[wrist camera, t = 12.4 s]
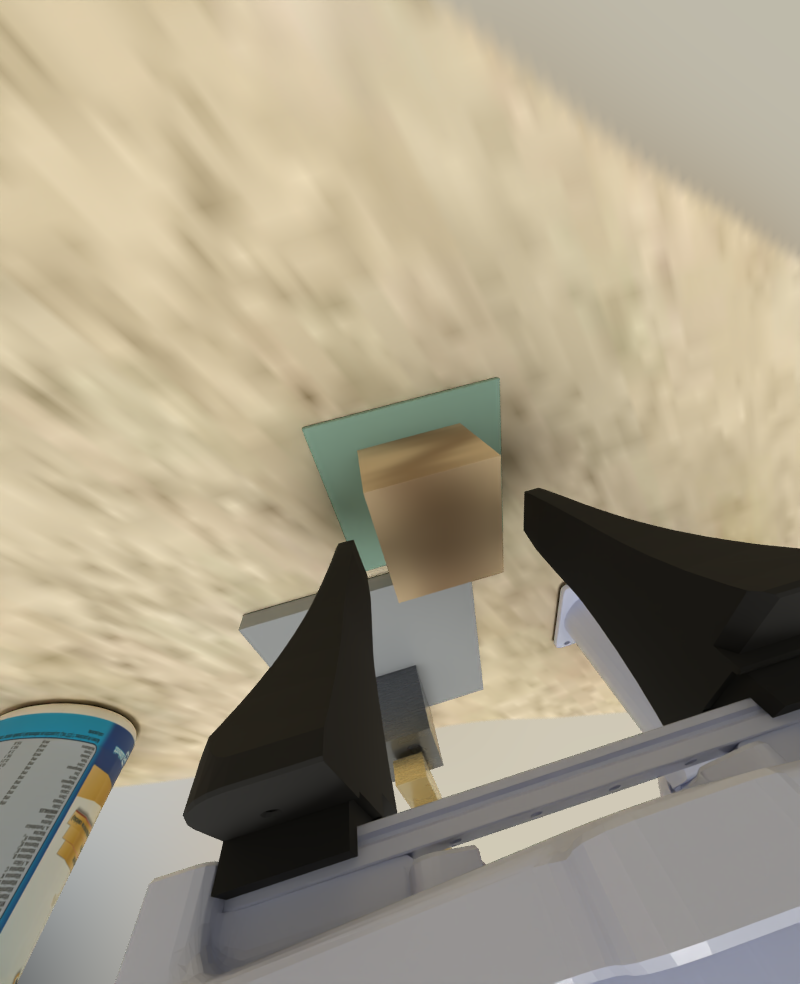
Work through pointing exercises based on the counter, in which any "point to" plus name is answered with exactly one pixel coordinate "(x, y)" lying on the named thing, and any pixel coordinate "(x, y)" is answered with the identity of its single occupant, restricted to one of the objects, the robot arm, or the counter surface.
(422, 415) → the pad
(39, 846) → the beverage bottle
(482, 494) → the oak cover
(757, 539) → the counter surface
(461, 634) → the housing plate
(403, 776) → the latch bolt
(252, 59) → the counter surface
